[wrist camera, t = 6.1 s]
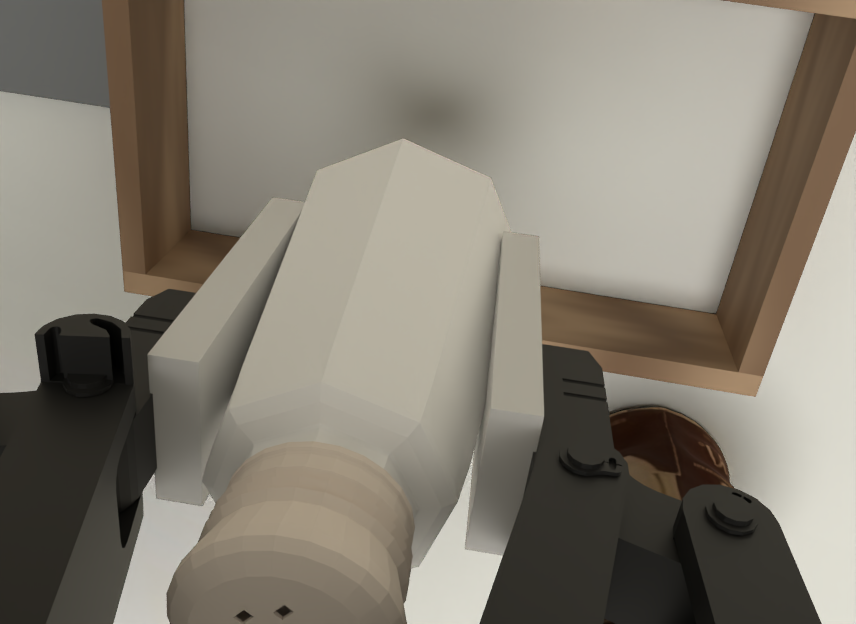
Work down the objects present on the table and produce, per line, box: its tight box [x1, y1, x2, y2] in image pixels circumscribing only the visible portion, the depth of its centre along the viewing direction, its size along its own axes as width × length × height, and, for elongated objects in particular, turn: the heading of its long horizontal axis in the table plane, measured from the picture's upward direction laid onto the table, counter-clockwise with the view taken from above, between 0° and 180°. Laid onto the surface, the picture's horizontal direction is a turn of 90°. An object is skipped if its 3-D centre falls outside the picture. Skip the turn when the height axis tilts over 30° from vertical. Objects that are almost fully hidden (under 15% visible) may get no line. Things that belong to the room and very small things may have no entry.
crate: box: [102, 0, 856, 397], centre depth 26 cm, size 22×13×4 cm, turn 83°
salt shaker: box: [167, 138, 511, 624], centre depth 14 cm, size 5×5×11 cm
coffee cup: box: [603, 407, 735, 624], centre depth 28 cm, size 9×8×13 cm
